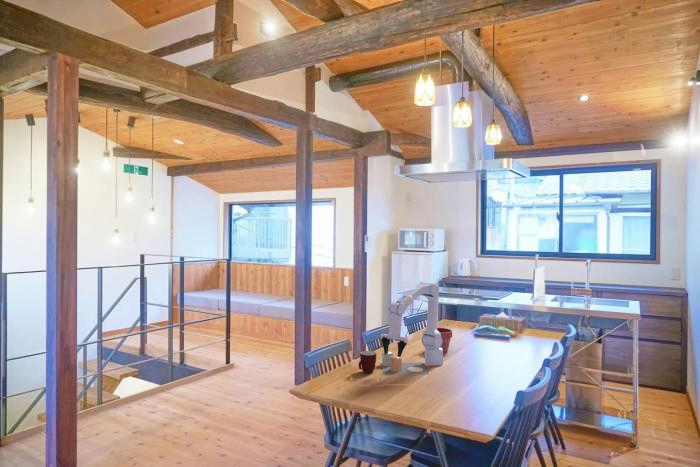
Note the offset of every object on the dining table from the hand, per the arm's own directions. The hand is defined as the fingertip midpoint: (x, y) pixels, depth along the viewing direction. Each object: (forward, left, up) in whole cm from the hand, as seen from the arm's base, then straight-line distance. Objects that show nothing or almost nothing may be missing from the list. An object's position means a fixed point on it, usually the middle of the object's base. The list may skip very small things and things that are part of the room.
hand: (392, 355), depth 221 cm
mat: (-7, -10, -10) cm, 16 cm away
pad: (-13, -8, -10) cm, 18 cm away
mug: (+12, -5, -11) cm, 17 cm away
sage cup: (0, -17, -10) cm, 19 cm away
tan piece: (-3, -8, -10) cm, 13 cm away
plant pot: (-35, -44, -11) cm, 57 cm away
